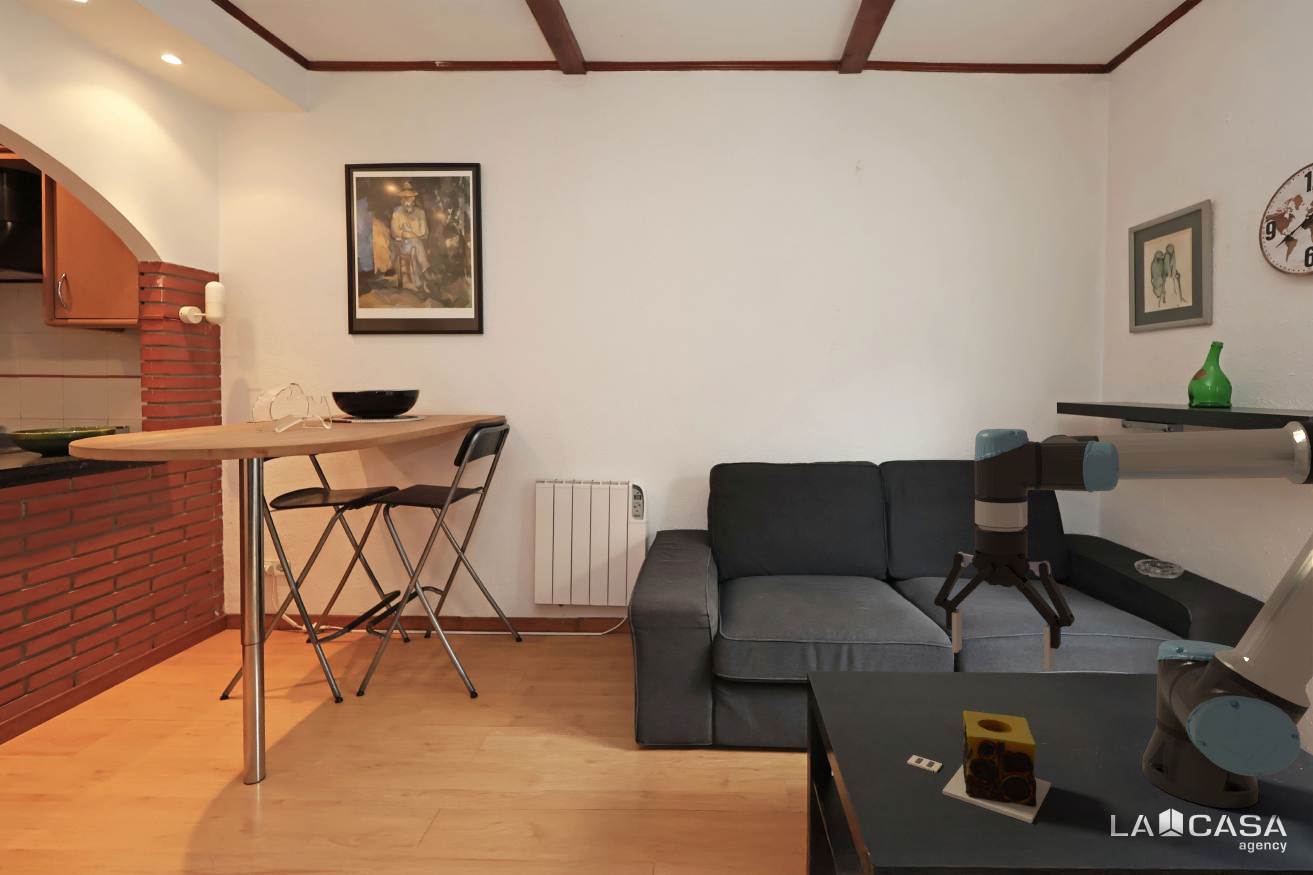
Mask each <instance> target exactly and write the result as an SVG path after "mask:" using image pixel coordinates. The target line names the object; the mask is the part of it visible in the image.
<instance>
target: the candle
mask: <svg viewBox="0 0 1313 875" xmlns="http://www.w3.org/2000/svg"><path fill="white" fill-rule="evenodd" d="M962 715H963V718H962V719H963V722H962V723H963V733H962V734H963V749H962V765H963V769H964V770H963V773H964V780H965V781H964V782H965V785H966V791H965V793H966V794H967V795H968V796H972V797H976V798H983V799H989V800H994V801H1001V802H1014V803H1019V804H1023V805H1027V806H1037V804H1036V803H1037V802H1036V779H1035V778H1036V776H1035V763H1036V752H1037V751H1036V750H1037V748H1036V741H1035V740H1034V737H1033V735H1032V732H1031V730H1030V727H1029V724H1028V719H1027V718H1026V717H1023V716H1022V717H1021V716H1014V715H1007V714H999V713H998V714H997V713H986V712H981V711H980V712H979V711H970V710H963V711H962Z"/></svg>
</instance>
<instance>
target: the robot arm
mask: <svg viewBox="0 0 1313 875" xmlns="http://www.w3.org/2000/svg"><path fill="white" fill-rule="evenodd" d="M974 442H975V446H974V460H973V461H974V497H975V498H974V523H975V524H976V525H978V526H976V527H975V528H974V549H975V550H974V554H968V553H967V552H965V551H963V550H960V551H959V552H957V553H955V554H954V556H953V563H952V568H951V570H950V571H949V573H948V575H947V576H946V579H945V580H944V582H943V583H942V586H941V588H940V590H939V591H938V593H937V595H936V597H935V598H934V600H933V604H934V605H935V606H937V607H940V608H943V609H944V610H945V628H946V630H947V631H951V651H952V652H951V653H954V654H956V653H958V652H959V651H961V650H962V649H963V610H962V609H959V608H958V606H960V605H961V603H962V602H963V601H965V600H966V599H967V598H968V597H969V596H970V595H971V593H973V592H974V591H975V590H976V588H978V587H979V586H980V585H981V584H982V583H983V582H985V583H987V584H988V585H989V586H1001V587H1004V588H1012V587H1015V588H1016V589H1017V590H1018V591H1019V593H1021V594H1023V596H1024V597H1025V598H1026V599H1027V601H1028V602H1029V604H1031V606H1032V607H1033V608H1034V609H1035V610H1036V612H1037V613H1038V614H1039V615H1040V616H1041V618H1042V619H1043V620H1044V621H1045V622H1046V625H1045V626H1043V670H1044V671H1049V672H1050V671H1051V669H1052V668H1053V666H1054V649H1056V650H1058V649H1059V648H1060V646H1061V644H1062V628H1063V627H1065V628H1066V627H1067V628H1068V627H1069V628H1070V627H1071V626H1072V625H1073V623H1074V622H1075V620H1076V617H1075V616H1074V614H1073V612H1072V611H1071V608H1070V606H1069V605H1068V603H1067V601H1066V599H1065V596H1064V595H1063V593H1062V591H1061V589H1060V588H1059V585H1058V584H1057V581H1056V580H1055V578H1054V577H1053V573H1052V564H1051V562H1050V561H1049V560H1048V559H1047V560H1046V559H1045V560H1043V561H1030V559H1029V556H1028V546H1029V545H1028V541H1029V539H1028V533H1029V532H1028V530H1026V528H1025V527H1026V526H1028V492H1029V491H1031V490H1032V491H1063V492H1064V491H1065V492H1066V491H1067V492H1069V491H1070V492H1071V491H1072V492H1073V491H1074V492H1088V493H1093V492H1111V491H1113V490H1114V489H1115V488H1117V486H1118V483H1119V481H1120V480H1121V481H1122V480H1123V481H1124V480H1125V481H1127V480H1131V481H1132V480H1134V481H1135V480H1199V479H1200V480H1208V479H1209V480H1211V479H1212V480H1213V479H1214V480H1215V479H1217V480H1218V479H1221V480H1222V479H1286V480H1288V481H1289V482H1290V483H1292V484H1293V485H1313V420H1300V421H1299V420H1298V421H1289V422H1288V423H1287V424H1286V425H1285V426H1284V427H1281V428H1261V429H1260V428H1259V429H1256V428H1254V429H1232V430H1230V429H1229V430H1203V431H1199V430H1198V431H1177V432H1175V431H1171V432H1145V433H1144V432H1143V433H1117V434H1115V433H1113V434H1096V435H1089V434H1087V435H1066V434H1054V435H1051V436H1048V437H1045V438H1044V439H1042V441H1033V440H1030V438H1029V437H1028V432H1027V431H1026V430H1025V429H1022V428H988V429H986V428H985V429H981V430H980V431H979V432H977V434H976V435H975V441H974ZM970 563H971V564H972V565H973V567H974V568H975V569H976V571H977V572H978V573H977V574H975V575H974V577H973V578H972V579H970V581H969V582H968V583H966V585H965V586H964V587H963V588H962V589H961V590H960V591H959V592H958V593H957V594H956V595H955V596H954V597H952V599H951V600H949V599H948V598H949V596H950V595H951V593H952V590H953V589H954V588H955V586H956V584H957V582H958V580H959V578H960V576H961V574H962V573H963V571H964V569H965V568H966V567H968V566H969V565H970ZM1030 570H1031V571H1033V572H1034V574H1035V576H1037V577H1039V578H1040V582H1041V584H1042V585H1043V588H1044V590H1045V592H1046V593H1047V596H1048V598H1049V599H1050V601H1051V603H1052V605H1053V607H1054V609H1055V610H1056V611H1054V609H1053V608H1052V607H1051V606H1050V604H1049V603H1048V602H1047V601H1046V600H1045V598H1044V597H1043V596H1042V595H1041V594H1040V593H1039V591H1038V590H1037V589H1036V587H1034V585H1033V584H1032V582H1031V580H1030V579H1029V578H1028V577H1027V574H1028V572H1029V571H1030ZM1056 612H1057V613H1056ZM1156 661H1157V672H1156V673H1157V680H1156V682H1157V683H1156V720H1155V721H1156V723H1155V729H1154V731H1153V734H1152V736H1151V738H1150V740H1149V741H1148V745H1147V747H1146V748H1145V750H1144V753H1143V755H1142V765H1141V766H1142V767H1141V768H1142V774H1143V775H1144V776H1145V777H1144V778H1146V779H1147V780H1148V782H1150V783H1151V784H1153V785H1154V786H1156V787H1157V788H1158V789H1160V790H1163V792H1166V793H1168V794H1169V795H1173V796H1175V797H1177V798H1180V799H1182V800H1185V801H1189V802H1191V803H1195V804H1200V805H1203V806H1207V807H1214V808H1220V809H1221V808H1222V809H1242V808H1243V809H1245V808H1248V807H1251V806H1253V805H1255V804H1256V803H1257V802H1258V798H1259V783H1258V780H1257V776H1271V775H1274V774H1276V773H1279V772H1281V771H1284V770H1285V769H1286V768H1288V767H1289V766H1291V764H1292V763H1294V761H1296V759H1297V757H1298V755H1299V753H1300V750H1301V738H1300V732H1299V729H1298V726H1297V725H1298V724H1299V722H1300V721H1301V720H1302V718H1303V717H1304V715H1305V714H1306V713H1307V711H1308V710H1309V709H1310V706H1311V704H1312V703H1311V701H1310V699H1309V696H1308V694H1307V692H1306V686H1307V685H1308V684H1309V683H1310V681H1311V679H1312V678H1313V533H1311V535H1310V537H1309V538H1308V540H1307V541H1306V543H1305V544H1304V545H1303V547H1302V549H1301V550H1300V551H1299V553H1298V554H1297V556H1296V557H1295V559H1293V562H1292V563H1291V565H1290V566H1289V567H1288V569H1287V570H1286V572H1285V573H1284V575H1283V576H1282V578H1281V580H1280V581H1279V583H1278V584H1277V585H1276V587H1275V588H1274V589H1273V592H1272V593H1271V594H1270V596H1269V597H1268V599H1267V600H1266V602H1265V603H1264V605H1263V606H1262V608H1261V609H1260V610H1259V612H1258V613H1257V615H1256V617H1255V618H1254V620H1253V621H1252V622H1251V624H1250V625H1249V626H1248V628H1247V630H1246V632H1245V633H1244V634H1243V636H1242V637H1241V638H1240V640H1239V642H1238V643H1237V645H1236V646H1235V647H1233V646H1229V645H1225V644H1220V643H1214V642H1209V641H1201V640H1193V639H1192V640H1189V639H1170V640H1168V639H1167V640H1166V641H1162V643H1160V644H1159V647H1158V652H1157V657H1156Z"/></svg>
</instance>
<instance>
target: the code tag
mask: <svg viewBox="0 0 1313 875" xmlns="http://www.w3.org/2000/svg"><path fill="white" fill-rule="evenodd" d="M906 764H907V765H910V766H914V767H917V768H921V769H924V770H926V771H930V772H933V771H934V772H933V773H938V771H939V770H940V769H941V767H942V766H943V763H941V762H937V761H934V760H931V759H928V758H926V757H925V758H924V757H922V756H918V755H915V754H913V755H912V756H911V757H910V758H909V759H908V760H907V761H906Z"/></svg>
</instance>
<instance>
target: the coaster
mask: <svg viewBox="0 0 1313 875" xmlns="http://www.w3.org/2000/svg"><path fill="white" fill-rule="evenodd" d="M963 770H964V769H963V764H961V766H960V767H959V769H957V771H956V772H955V774H954V775H953V776H952V777H951V779H950V780H949V782H948V783H947V784H946V785H945V786H944V788H943V789H942V795H944V796H948V797H950V798H953V799H956V800H960V801H961V802H965V803H969V804H972V805H975V806H977V807H981V808H982V809H983V808H984V809H987V810H990V811H993V812H996V813H999V814H1002V815H1005V816H1008V817H1012V818H1014V819H1017V820H1020V821H1023V822H1026V823H1029V824H1032V823H1033V821H1034V819H1035V817H1036V815H1037V813H1038V811H1039V810H1040V807H1041V806H1042V804H1043V802H1044V800H1045V798H1046V796H1047V794H1048V792H1049V790H1050V788H1051V784H1052V782H1049V781H1047V780H1043V779H1039V778H1037V777H1035V779H1036V802H1037V803H1036V804H1037V806H1027V805H1023V804H1019V803H1014V802H1001V801H994V800H989V799H983V798H976V797H972V796H968V795H967V794H966V793H965V791H966V785H965V782H964V781H965V780H964V773H963Z"/></svg>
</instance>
